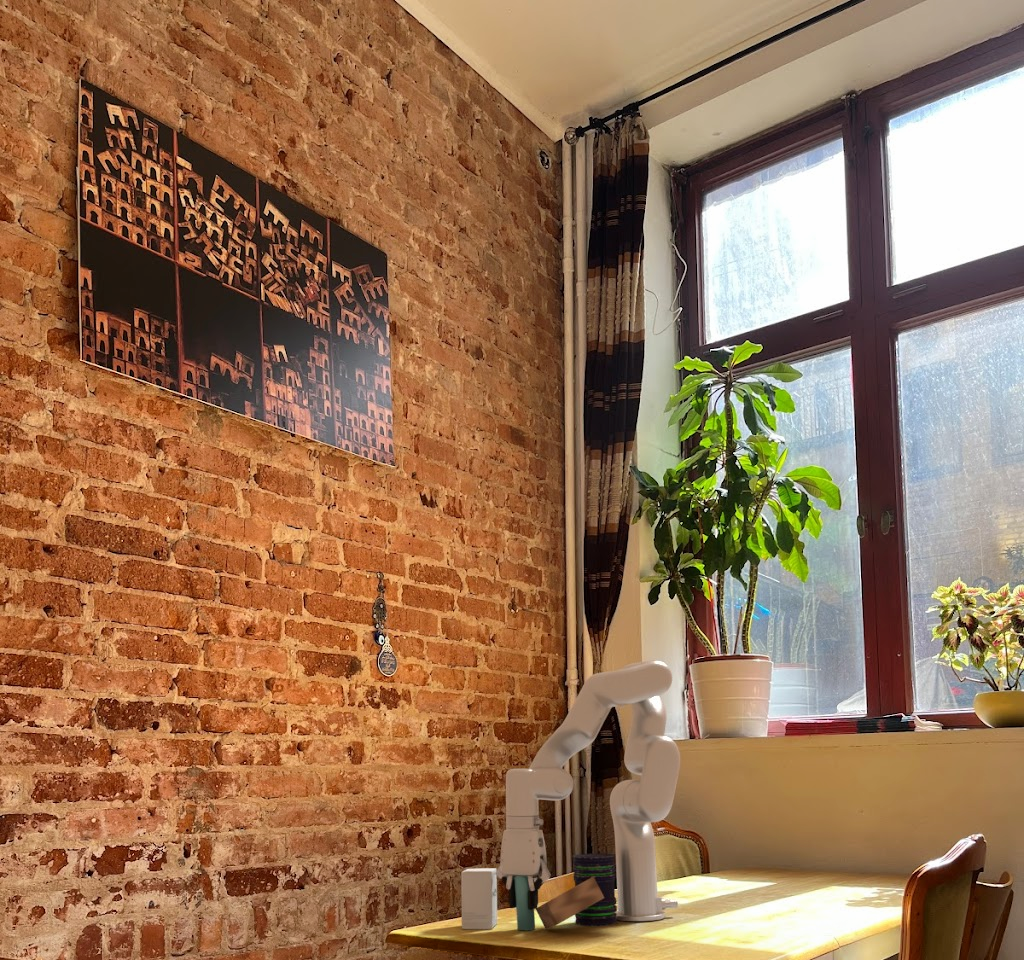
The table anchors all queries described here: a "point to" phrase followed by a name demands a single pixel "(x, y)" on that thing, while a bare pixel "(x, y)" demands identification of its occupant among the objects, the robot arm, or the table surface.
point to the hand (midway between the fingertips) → (523, 907)
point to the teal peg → (523, 904)
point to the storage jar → (604, 876)
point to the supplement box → (479, 898)
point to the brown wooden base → (569, 903)
